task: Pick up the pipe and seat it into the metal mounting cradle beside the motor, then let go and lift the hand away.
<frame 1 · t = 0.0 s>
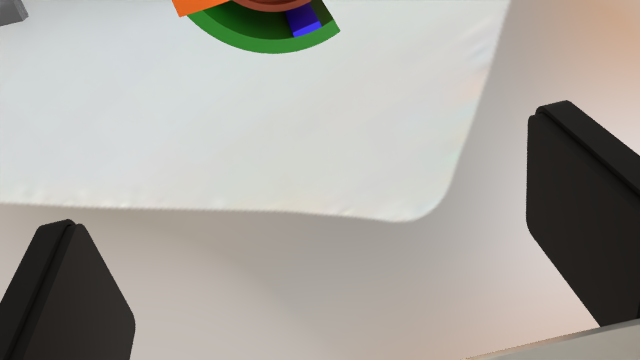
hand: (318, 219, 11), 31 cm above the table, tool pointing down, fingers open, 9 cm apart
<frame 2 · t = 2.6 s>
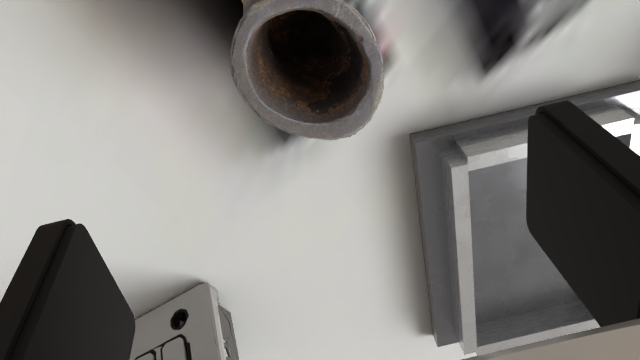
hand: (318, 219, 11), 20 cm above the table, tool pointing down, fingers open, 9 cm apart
electrical switch: (182, 323, 41), on the table
cradle: (524, 224, 39), on the table
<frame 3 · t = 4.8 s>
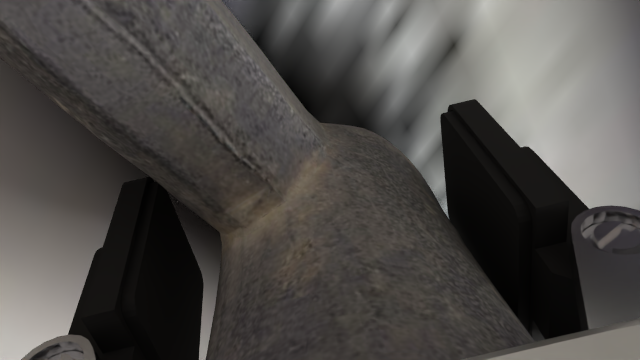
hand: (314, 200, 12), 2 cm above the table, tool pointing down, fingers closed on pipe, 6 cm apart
pipe: (267, 137, 13), on the table, touching gripper
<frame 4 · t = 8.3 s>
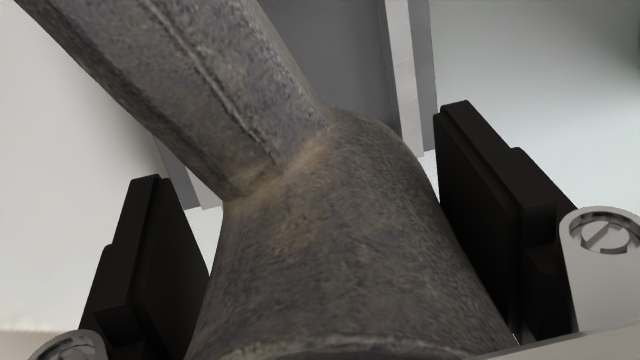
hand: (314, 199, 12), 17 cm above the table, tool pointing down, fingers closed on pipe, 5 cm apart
pipe: (277, 116, 13), point 15 cm above the table, touching gripper
cradle: (270, 7, 27), on the table
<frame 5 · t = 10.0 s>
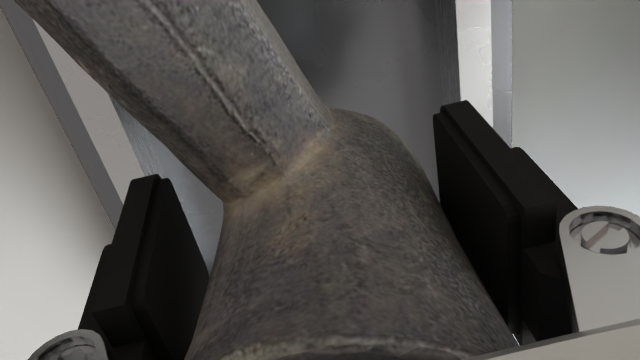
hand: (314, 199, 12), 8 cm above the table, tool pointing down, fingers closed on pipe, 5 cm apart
pipe: (277, 116, 13), point 6 cm above the table, touching gripper
cradle: (286, 65, 19), on the table
when the fingers open (4 cm above the table, at t = 11.6 s): pipe stays where it is, resting on cradle.
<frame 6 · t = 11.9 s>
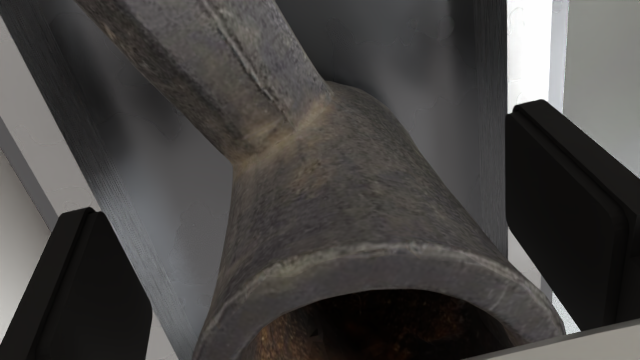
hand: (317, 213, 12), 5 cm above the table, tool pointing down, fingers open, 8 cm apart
pipe: (272, 94, 14), point 1 cm above the table, touching cradle
cradle: (294, 113, 16), on the table
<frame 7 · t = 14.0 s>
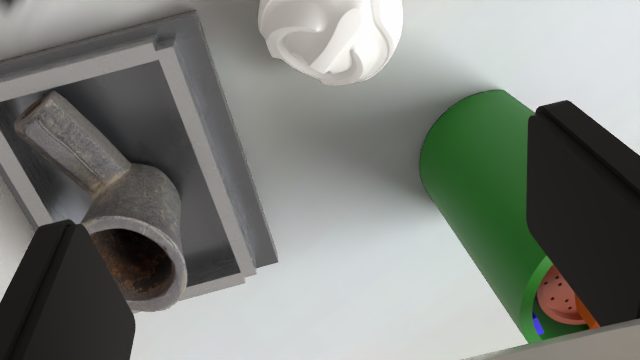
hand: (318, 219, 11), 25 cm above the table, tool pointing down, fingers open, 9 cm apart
pipe: (118, 167, 36), point 1 cm above the table, touching cradle
motor: (476, 157, 41), on the table
white swirled ball: (320, 2, 34), on the table
cradle: (135, 175, 38), on the table
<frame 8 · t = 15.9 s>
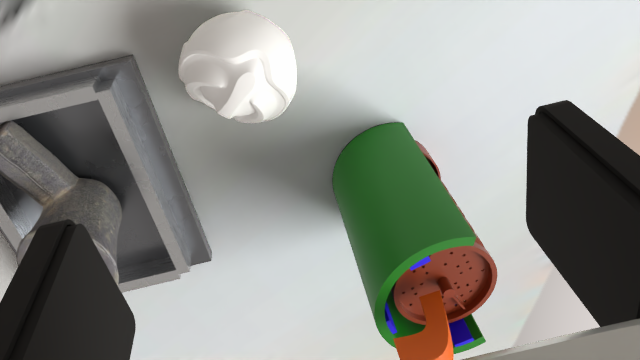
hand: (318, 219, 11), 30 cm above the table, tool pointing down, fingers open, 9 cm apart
pipe: (69, 180, 43), point 1 cm above the table, touching cradle
motor: (382, 176, 48), on the table
white swirled ball: (240, 49, 40), on the table
cradle: (86, 186, 44), on the table
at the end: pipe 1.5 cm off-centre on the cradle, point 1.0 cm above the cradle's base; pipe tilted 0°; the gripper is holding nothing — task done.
